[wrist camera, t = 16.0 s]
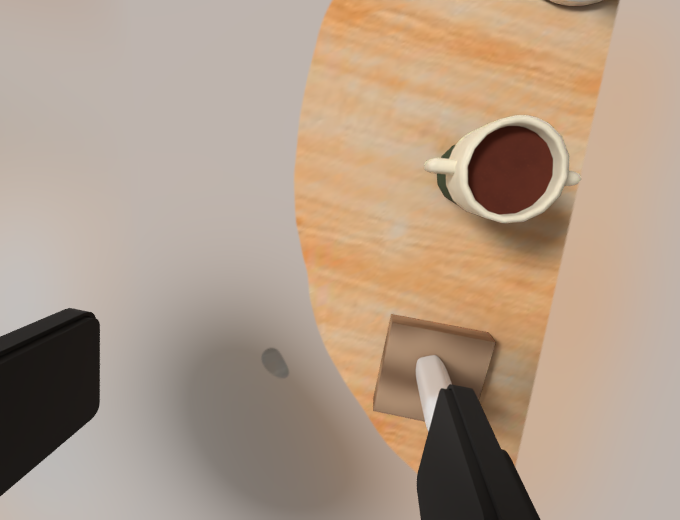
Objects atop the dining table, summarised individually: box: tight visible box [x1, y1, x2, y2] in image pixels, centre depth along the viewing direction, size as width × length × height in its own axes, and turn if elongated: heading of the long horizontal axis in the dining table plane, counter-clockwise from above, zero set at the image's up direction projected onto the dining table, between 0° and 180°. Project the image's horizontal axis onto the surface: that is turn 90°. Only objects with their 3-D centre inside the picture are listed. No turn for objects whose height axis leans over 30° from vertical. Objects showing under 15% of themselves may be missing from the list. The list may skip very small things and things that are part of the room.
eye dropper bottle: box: [416, 355, 452, 432], centre depth 33 cm, size 4×6×12 cm
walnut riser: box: [373, 314, 496, 421], centre depth 40 cm, size 11×11×2 cm
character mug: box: [424, 115, 581, 223], centre depth 30 cm, size 11×7×13 cm, turn 84°
